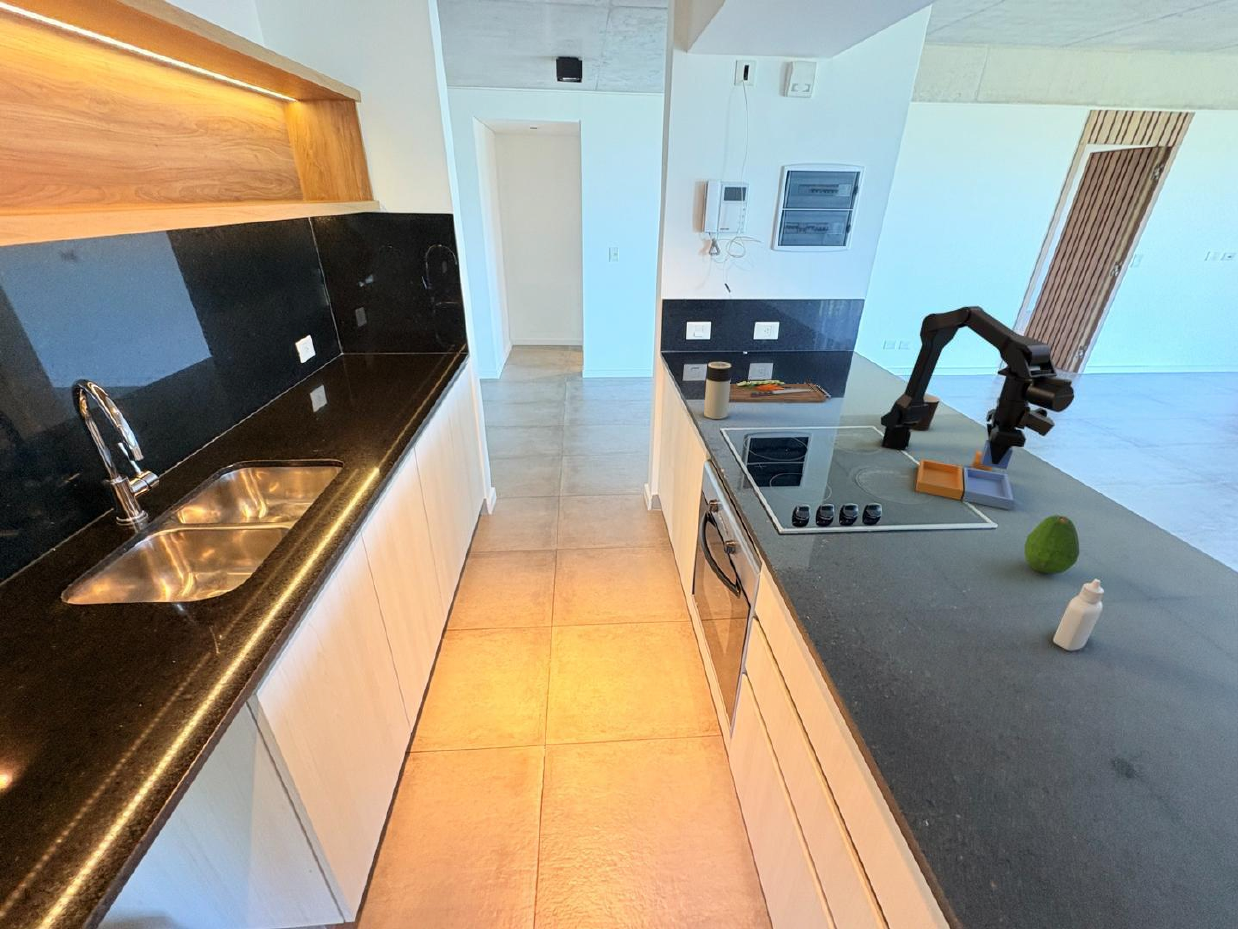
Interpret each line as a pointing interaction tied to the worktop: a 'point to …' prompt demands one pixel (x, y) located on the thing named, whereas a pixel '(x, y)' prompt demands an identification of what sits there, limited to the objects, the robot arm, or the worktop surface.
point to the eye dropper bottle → (1080, 617)
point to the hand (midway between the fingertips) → (994, 460)
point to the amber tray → (940, 479)
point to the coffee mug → (927, 413)
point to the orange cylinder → (978, 464)
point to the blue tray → (986, 488)
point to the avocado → (1052, 545)
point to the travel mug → (717, 390)
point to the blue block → (987, 459)
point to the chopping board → (775, 392)
